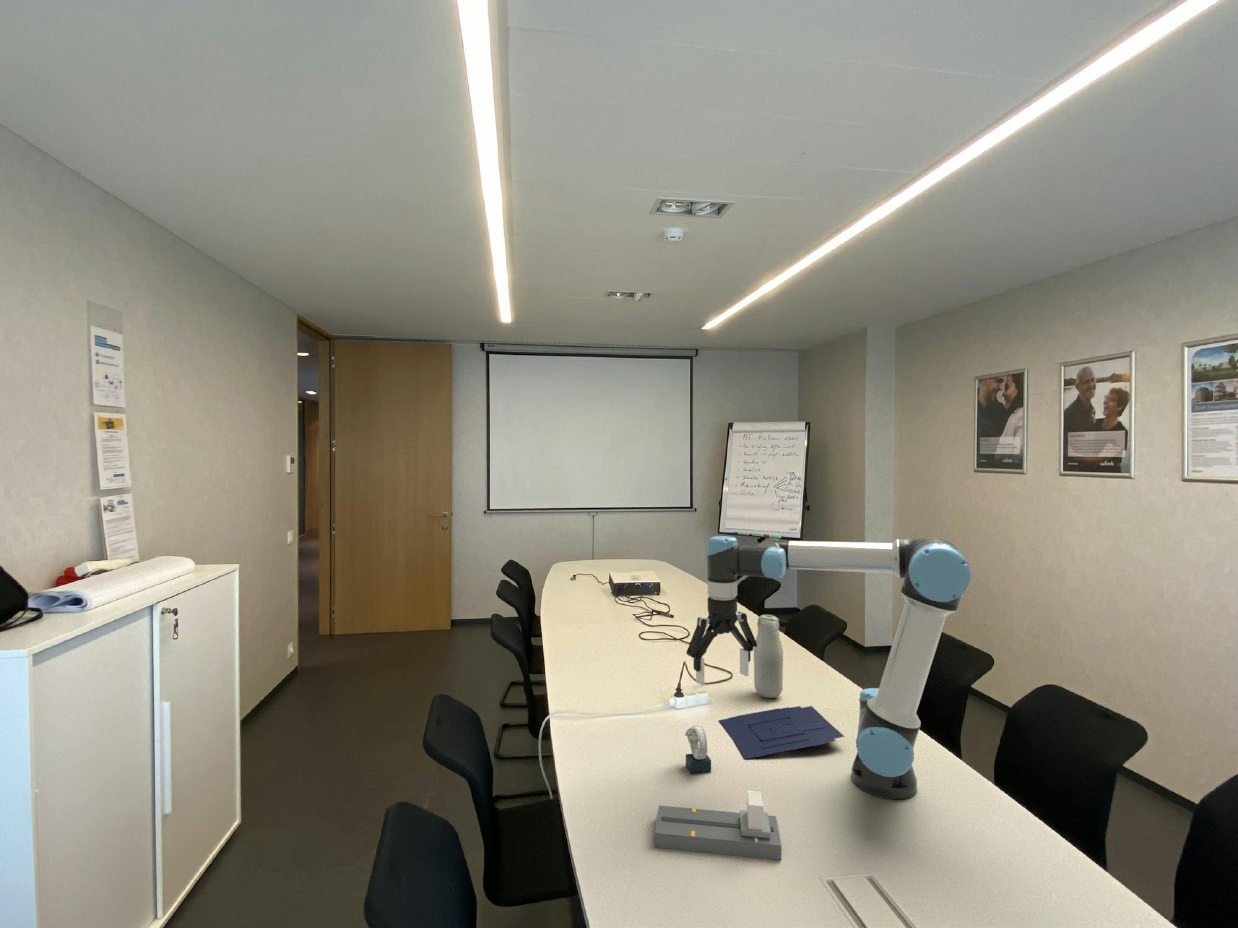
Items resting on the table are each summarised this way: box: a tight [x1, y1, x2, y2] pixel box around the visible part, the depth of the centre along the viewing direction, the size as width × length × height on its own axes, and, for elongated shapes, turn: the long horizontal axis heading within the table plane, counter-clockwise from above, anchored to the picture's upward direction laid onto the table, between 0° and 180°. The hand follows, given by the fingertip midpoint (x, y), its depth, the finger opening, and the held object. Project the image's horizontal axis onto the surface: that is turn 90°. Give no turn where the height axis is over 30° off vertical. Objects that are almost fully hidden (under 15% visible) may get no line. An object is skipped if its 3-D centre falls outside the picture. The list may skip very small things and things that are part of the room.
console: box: [654, 804, 782, 861], centre depth 129 cm, size 26×10×3 cm, turn 81°
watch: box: [684, 724, 712, 775], centre depth 157 cm, size 6×8×11 cm
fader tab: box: [739, 789, 771, 838], centre depth 128 cm, size 6×7×6 cm
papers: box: [718, 705, 845, 760], centre depth 176 cm, size 24×30×4 cm
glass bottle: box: [753, 614, 784, 699], centre depth 205 cm, size 10×10×28 cm
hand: (722, 678), depth 154 cm, fingers open, 13 cm apart
